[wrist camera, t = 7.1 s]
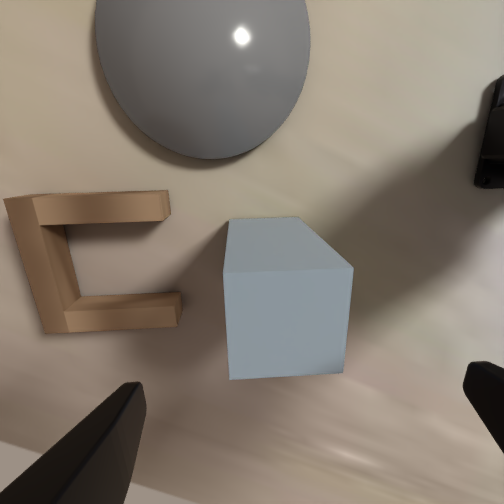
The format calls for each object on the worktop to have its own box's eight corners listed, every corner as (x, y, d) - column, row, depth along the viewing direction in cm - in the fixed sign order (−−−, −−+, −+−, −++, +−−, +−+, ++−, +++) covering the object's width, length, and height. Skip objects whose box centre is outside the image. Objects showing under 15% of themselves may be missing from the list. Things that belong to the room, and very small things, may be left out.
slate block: (297, 217, 18) (353, 267, 9) (296, 279, 19) (343, 373, 11) (229, 219, 18) (222, 273, 9) (232, 282, 19) (229, 379, 11)
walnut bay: (168, 190, 17) (159, 193, 15) (182, 310, 20) (177, 326, 18) (29, 194, 17) (3, 198, 15) (64, 316, 19) (45, 333, 17)
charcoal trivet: (312, -84, 13) (315, -95, 13) (304, 156, 17) (306, 156, 16) (79, -87, 13) (71, -98, 12) (121, 161, 16) (116, 161, 16)
